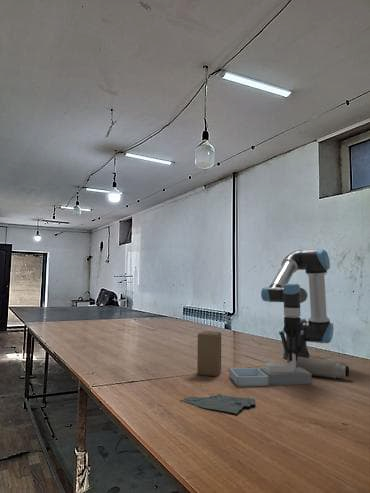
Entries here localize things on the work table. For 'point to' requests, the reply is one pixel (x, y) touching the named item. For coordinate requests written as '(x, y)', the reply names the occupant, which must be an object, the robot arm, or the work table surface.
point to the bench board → (289, 377)
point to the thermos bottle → (322, 367)
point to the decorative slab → (222, 403)
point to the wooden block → (209, 353)
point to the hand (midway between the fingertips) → (293, 368)
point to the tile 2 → (287, 367)
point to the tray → (248, 377)
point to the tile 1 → (272, 367)
